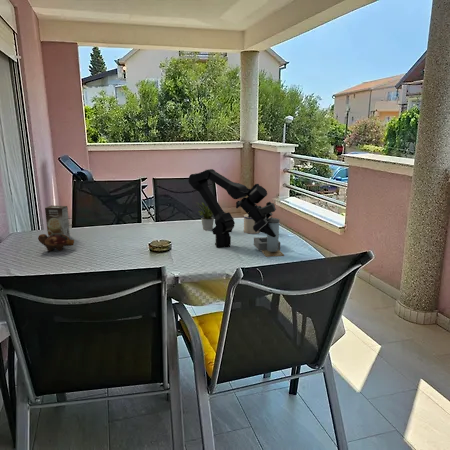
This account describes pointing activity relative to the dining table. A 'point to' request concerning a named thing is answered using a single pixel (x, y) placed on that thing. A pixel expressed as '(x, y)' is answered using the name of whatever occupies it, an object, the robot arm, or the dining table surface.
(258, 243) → the frame
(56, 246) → the decorative turtle
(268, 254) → the mat
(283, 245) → the dining table surface
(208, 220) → the house plant
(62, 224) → the coffee box
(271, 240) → the ball
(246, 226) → the teacup with lid
